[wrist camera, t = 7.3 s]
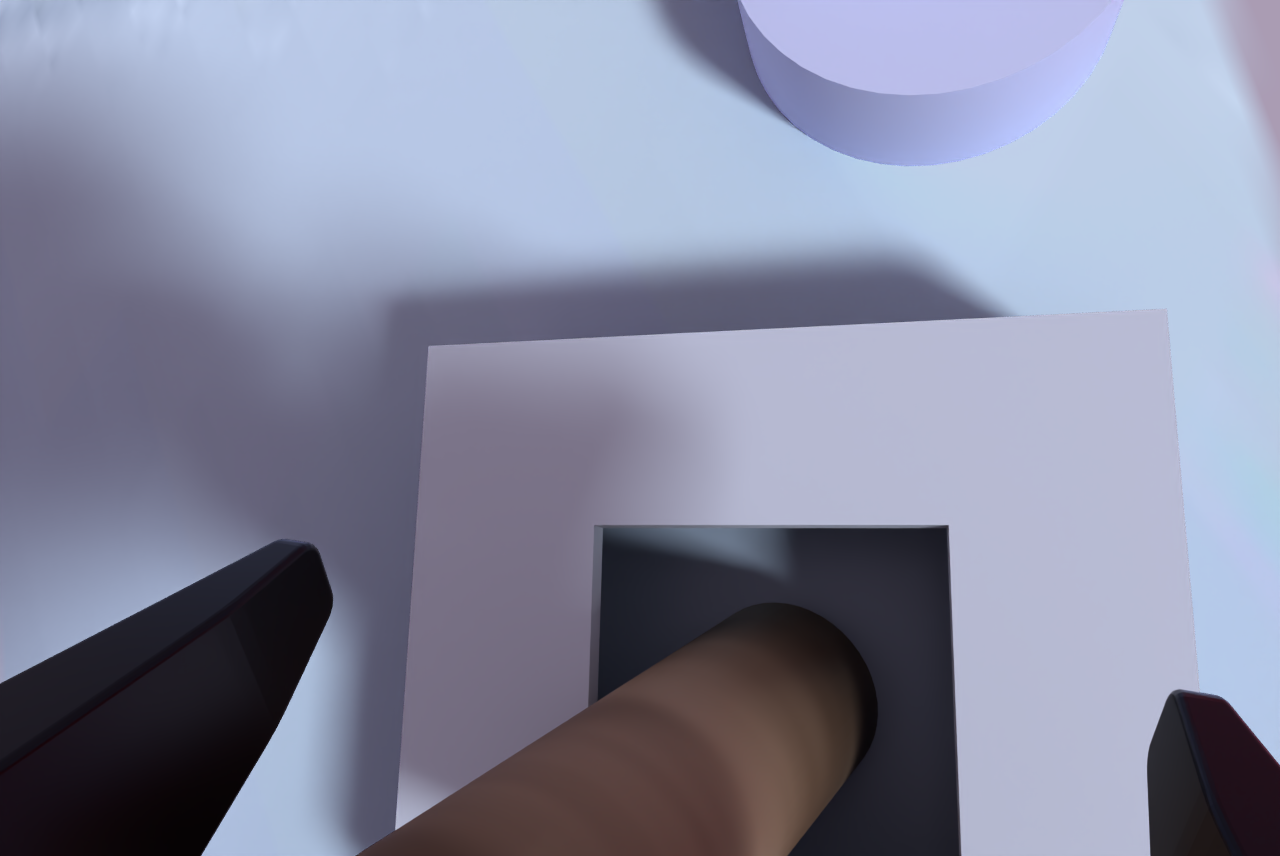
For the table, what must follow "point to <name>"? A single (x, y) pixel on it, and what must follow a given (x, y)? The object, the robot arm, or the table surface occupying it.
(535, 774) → the peg
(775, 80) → the wedge on round base
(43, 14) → the table surface
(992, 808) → the box
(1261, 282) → the table surface
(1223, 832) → the robot arm
